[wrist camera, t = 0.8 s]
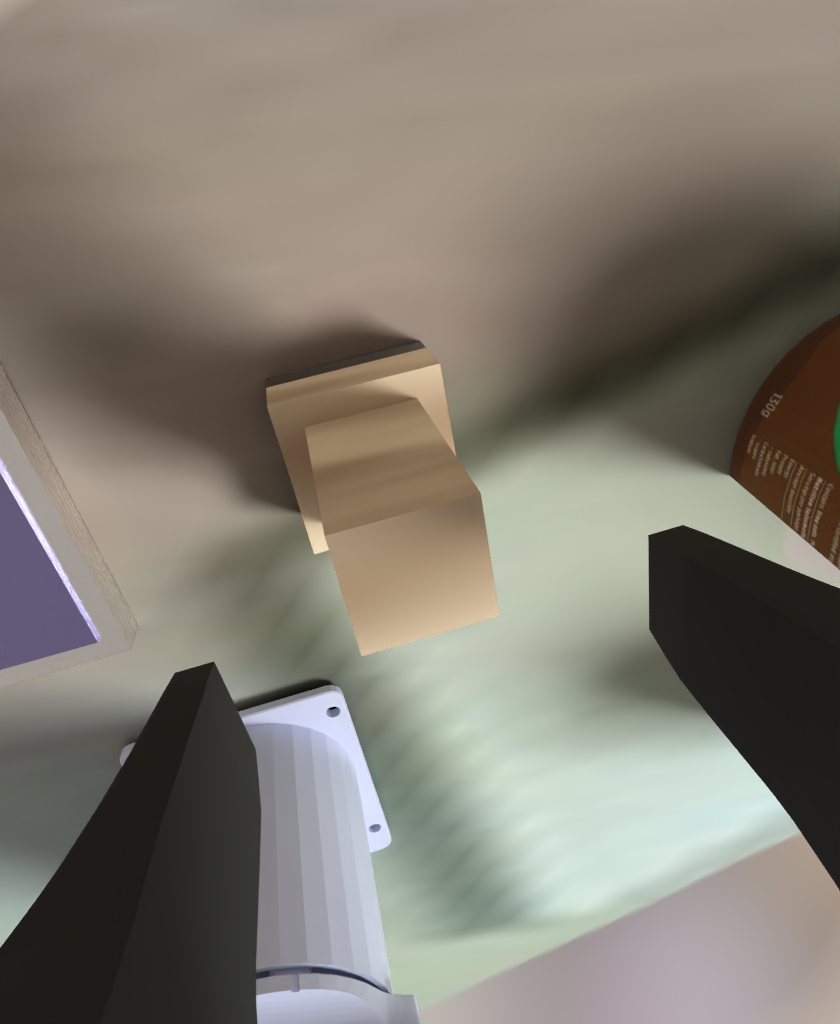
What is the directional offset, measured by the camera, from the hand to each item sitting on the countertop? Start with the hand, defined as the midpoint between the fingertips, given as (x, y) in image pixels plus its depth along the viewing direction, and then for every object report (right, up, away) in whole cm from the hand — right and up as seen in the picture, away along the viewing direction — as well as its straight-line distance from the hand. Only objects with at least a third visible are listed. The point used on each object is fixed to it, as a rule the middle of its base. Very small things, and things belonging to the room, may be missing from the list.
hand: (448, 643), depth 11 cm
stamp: (-2, +5, +9) cm, 10 cm away
